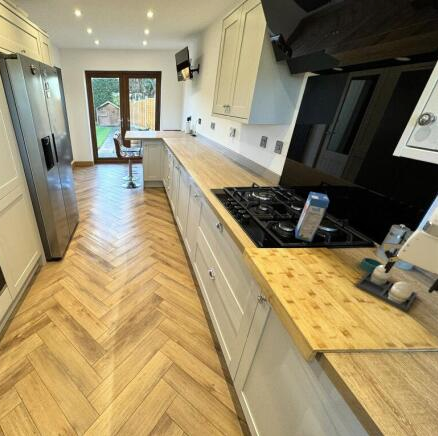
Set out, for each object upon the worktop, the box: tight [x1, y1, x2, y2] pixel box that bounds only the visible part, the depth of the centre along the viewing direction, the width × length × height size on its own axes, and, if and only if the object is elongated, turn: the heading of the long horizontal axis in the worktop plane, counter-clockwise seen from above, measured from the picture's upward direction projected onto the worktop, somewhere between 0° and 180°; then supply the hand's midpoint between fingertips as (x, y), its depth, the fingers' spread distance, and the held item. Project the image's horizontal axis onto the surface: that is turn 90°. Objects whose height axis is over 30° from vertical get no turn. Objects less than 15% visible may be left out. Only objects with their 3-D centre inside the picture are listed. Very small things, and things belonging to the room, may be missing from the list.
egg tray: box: [355, 272, 418, 313], centre depth 78 cm, size 13×13×2 cm
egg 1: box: [371, 264, 393, 285], centre depth 80 cm, size 4×4×7 cm
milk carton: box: [294, 191, 330, 243], centre depth 106 cm, size 10×6×20 cm, turn 151°
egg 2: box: [388, 281, 414, 304], centre depth 73 cm, size 4×4×7 cm
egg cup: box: [359, 257, 384, 273], centre depth 88 cm, size 6×6×4 cm
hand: (407, 280), depth 71 cm, fingers open, 9 cm apart
